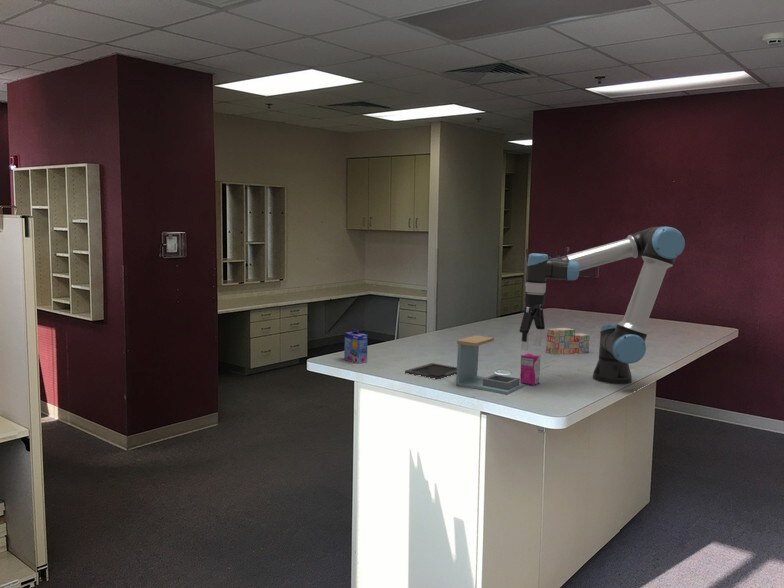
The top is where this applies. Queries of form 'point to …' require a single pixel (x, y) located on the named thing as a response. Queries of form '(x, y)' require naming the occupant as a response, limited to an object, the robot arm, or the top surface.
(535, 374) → the supplement box
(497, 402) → the top surface
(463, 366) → the socket stand
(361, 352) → the ink cartridge box
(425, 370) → the picture frame
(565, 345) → the stack of blocks
